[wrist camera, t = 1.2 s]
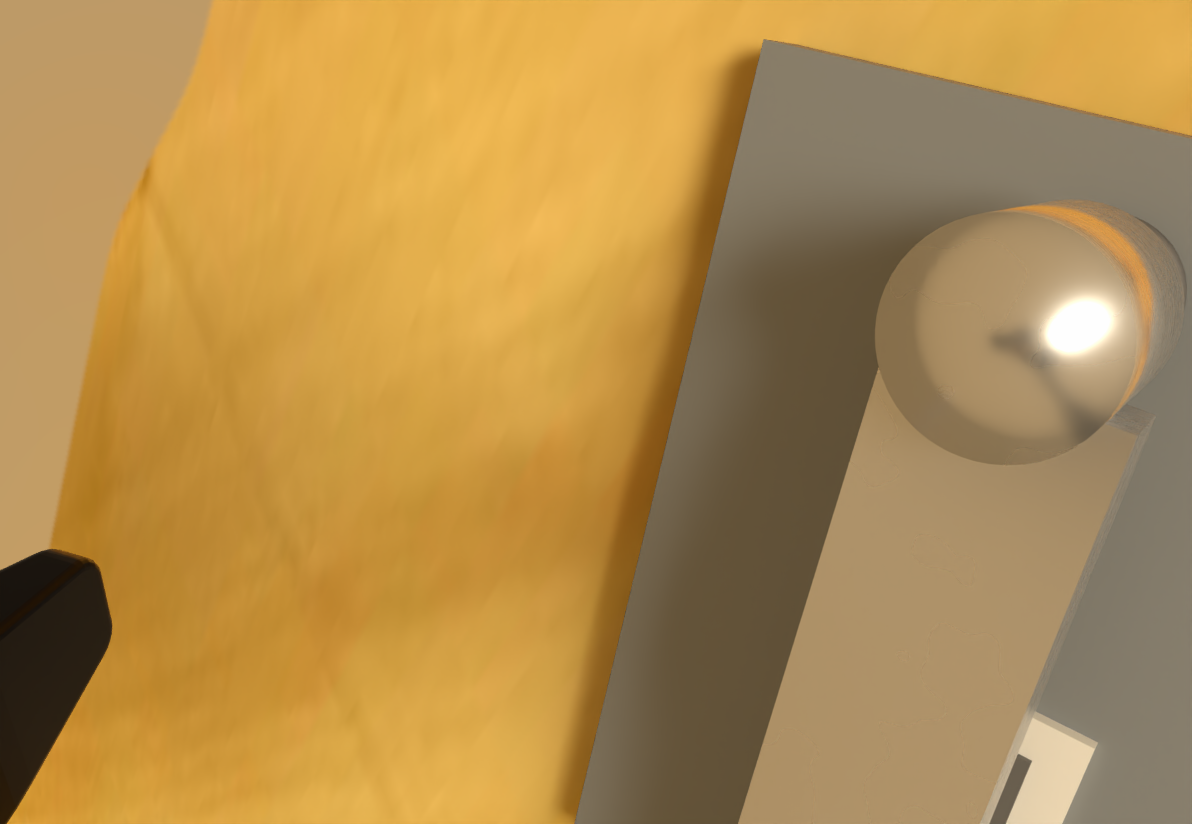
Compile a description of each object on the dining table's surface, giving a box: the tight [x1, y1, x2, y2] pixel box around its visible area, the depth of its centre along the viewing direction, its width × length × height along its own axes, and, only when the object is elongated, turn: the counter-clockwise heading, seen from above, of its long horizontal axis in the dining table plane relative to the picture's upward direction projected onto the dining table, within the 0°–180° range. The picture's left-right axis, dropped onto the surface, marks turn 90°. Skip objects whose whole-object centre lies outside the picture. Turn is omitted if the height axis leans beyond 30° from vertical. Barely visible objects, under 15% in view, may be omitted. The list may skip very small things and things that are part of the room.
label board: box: [575, 39, 1192, 824], centre depth 23 cm, size 22×20×4 cm
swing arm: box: [738, 199, 1185, 824], centre depth 21 cm, size 21×4×4 cm, turn 166°
